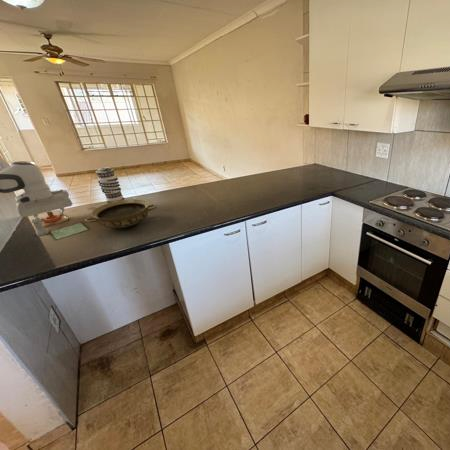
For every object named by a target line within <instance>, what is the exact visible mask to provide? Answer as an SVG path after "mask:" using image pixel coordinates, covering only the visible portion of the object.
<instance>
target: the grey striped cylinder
mask: <svg viewBox="0 0 450 450" xmlns="http://www.w3.org/2000/svg"><path fill="white" fill-rule="evenodd" d="M95 173H96V176H97V179H98V181H97V183H98V186H99V187H100V189H101V192H102V193H103V194H104V196H105V199H106V204H108V203H111V202H115V201H120V200H125V197H124V196H123V194H122V188H121V184H119V183H120V181H119V178H118V177H117V175H116V174H115V170H114V168H112V167H110V166H102V167H98V168H97V169H96V171H95Z"/></svg>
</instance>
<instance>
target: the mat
mask: <svg viewBox="0 0 450 450" xmlns="http://www.w3.org/2000/svg"><path fill="white" fill-rule="evenodd" d="M88 230H89V229H88V228H87V227H86V226H85V225H83V223H81V222H79V223H74V224H71V225H68V226H65V227H62V228H58V229H55V230H52V231H50V234H51V235H52V236H53V237H54V238H55V239H56V240H60V239H63V238H66V237H70V236H72V235H77V234H80V233H83V232H86V231H88Z"/></svg>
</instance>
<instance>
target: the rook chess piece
mask: <svg viewBox="0 0 450 450" xmlns="http://www.w3.org/2000/svg"><path fill="white" fill-rule="evenodd" d="M39 218H40V217H39ZM39 218H35V217H34V218H32V219H30V220H31V221H30V222H31V224H32V225H33V226H34V228H35V234H36V236H40V237H41V236H45V235H47V234H49V233H50V231H49V229H48V228H47V227H43V226H42V224H41V222H40V221H41V220H40V219H39Z"/></svg>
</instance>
